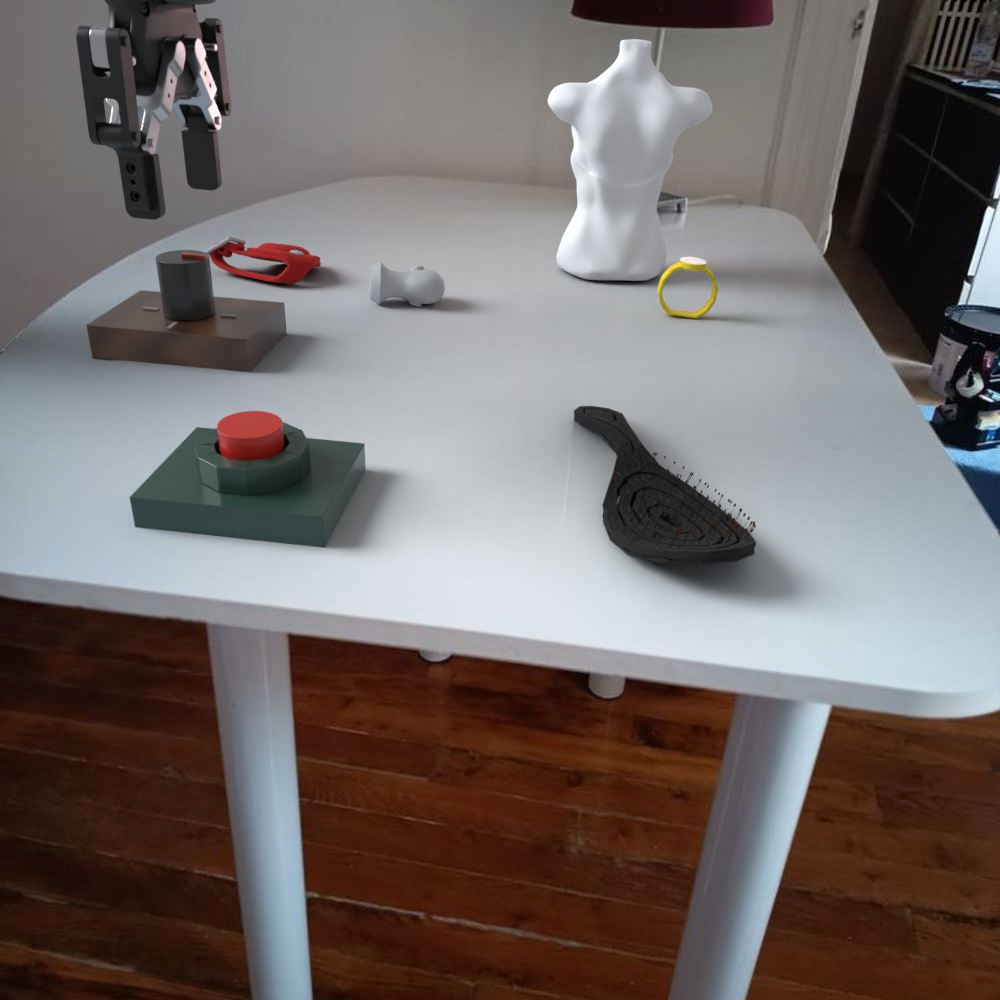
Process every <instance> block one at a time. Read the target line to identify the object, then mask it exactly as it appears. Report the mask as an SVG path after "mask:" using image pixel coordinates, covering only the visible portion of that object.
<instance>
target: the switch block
mask: <svg viewBox="0 0 1000 1000" xmlns="http://www.w3.org/2000/svg"><path fill="white" fill-rule="evenodd" d="M282 422H283V432H284V445H285V448H284V450H283V452H281V453H279V454H277V455H275V456H272V457H270V458H265V459H258V460H251V461H244V460H234V459H228V458H226V457H224V456H222V455H221V453H220V448H219V440H218V432H217V427H216V428H210V427H201V426H196V427H195V428H194V430H192V432H191V433H189V434H188V435H187V437H186V438H185V439H183V441H182V442H181V443H180V444H179V445H178V446H177V447H176V448H175V449H174V450H173V451H172V452H171V453H170V454H169V455H168V457H166V459H164V461H163V462H162V463H161V464H160V465H159V466H158V467H157V468H156V469H155V470H154V471H153V472H152V473H151V474H150V475H149V477H147V479H145V480H144V482H142V483H141V484H140V485H139V487H138V488H136V490H135V491H134V492H133V493H132V494H131V495H130V496H129V502H130V506H131V507H130V508H131V513H132V518H133V524H134V528H138V529H139V528H140V529H148V530H150V529H151V530H157V531H167V532H168V531H169V532H178V533H186V534H193V535H194V534H195V535H203V536H204V535H205V536H212V537H213V536H214V537H221V538H222V537H224V538H233V539H242V540H249V541H250V540H251V541H261V542H268V543H269V542H270V543H277V544H278V543H279V544H287V545H296V546H306V547H315V548H325V547H326V546H327V544H328V541H329V540H330V538H331V536H332V534H333V533H334V531H335V529H336V527H337V526H338V523H339V521H340V519H341V518H342V516H343V514H344V512H345V510H346V508H347V507H348V504H349V503H350V501H351V499H352V497H353V495H354V493H355V492H356V490H357V487H358V486H359V484H360V482H361V480H362V478H363V476H364V475H365V473H366V445H365V443H364V442H363V443H362V442H352V441H343V440H333V439H322V438H312V437H307V436H306V434H305V432H304V430H303V429H300V428H298V427H296V426H293V425H291V424H289V423H287V422H284V421H282Z"/></svg>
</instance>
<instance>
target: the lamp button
mask: <svg viewBox="0 0 1000 1000" xmlns="http://www.w3.org/2000/svg"><path fill="white" fill-rule="evenodd" d="M283 422H284V421H283V420H282V418H281V417H280V416H279V415H277V414H275V413H272V412H269V411H268V412H267V411H261V410H245V411H239V412H234V413H231V414H228V415H227V416H224V417H223V418H221V419H220V420H219V421H218V422H217V425H216V428H217V432H218V440H219V448H220V453H221V455H222V456H224V457H226V458H228V459H234V460H244V461H251V460H258V459H265V458H270V457H272V456H275V455H277V454H279V453H281V452H283V450H284V448H285V445H284V432H283Z"/></svg>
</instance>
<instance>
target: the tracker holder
mask: <svg viewBox="0 0 1000 1000" xmlns="http://www.w3.org/2000/svg"><path fill="white" fill-rule="evenodd" d="M246 244H247V243H246V240H243V239H240V238H238V237H237V238H236V237H233V236H227V237H225V238H223V239H222V240H220V241H217V242H216V243H214V244H213V245H212V246H210V247H208V248H207V249H205V250H204V251H203V252H204V253H207V254H208V255H209V258H210V259H211V260H210V261H211V262H212V263H213V265H215V266H216V267H217V268H219V269H221V270H224V271H225V272H228V273H230V274H233V275H237V276H241V277H246V278H249V279H254V280H255V279H256V280H259V281H264V282H270V283H277V284H278V283H279V284H284V285H293V284H297V283H300V282H301V281H302V280H303V279H304V278H305V277H306V276H307V274H308V273H309V272H310V270H311V269H313V268H314V267H320V266H321V265H322V262H321V257H320V256H319V255H315V254H314V255H313V254H311V252H310V251H308V249H306V248H305V247H302V246H299V245H296V244H292V243H288V242H287V243H286V242H278V241H277V242H264V243H261V244H259V245H258V246H257V247H247V248H246V246H245V245H246ZM245 248H246V249H245ZM233 254H235V255H238V256H243V257H248V258H251V259H254V260H262V261H268V262H274V263H280V264H281V263H282V264H285V265H287V266H286V267H285V269H284V270H283V271H282V272H280V273H279V274H278V275H276V276H274V275H269V274H264V273H259V272H254V271H249V270H245V269H242V268H241V269H240V268H237V267H235V266H233V265H231V264H229V263H228V262H227V261H225V258H226V259H227V258H228V259H229V258H231V257H232V256H233Z"/></svg>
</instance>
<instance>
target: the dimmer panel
mask: <svg viewBox="0 0 1000 1000" xmlns="http://www.w3.org/2000/svg"><path fill="white" fill-rule="evenodd" d="M214 303H215V313H214V314H213V315H212V316H210V317H207V318H204V319H199V320H191V321H181V320H173V319H170V318H167V317H166V316H165V315H164V313H163V306H162V299H161V292H160V291H156V290H155V291H153V290H140V289H139V290H138V291H137V292H135V293H134V294H132V295H131V296H129V297H128V298H125V300H123V301H121V302H119V303H118V304H117V305H115V306H114V307H112V308H110V309H108V310H107V311H105V313H103V314H101V315H99V316H98V317H97V318H95V319H94V320H92V321H90V322H89V323H87V324H86V332H87V337H88V342H89V347H90V353H91V358H92V359H99V360H100V359H101V360H108V361H109V360H110V361H123V362H124V361H126V362H136V363H144V364H145V363H146V364H156V365H157V364H158V365H166V366H176V367H178V366H179V367H188V368H189V367H190V368H201V369H210V370H219V371H220V370H221V371H234V372H244V373H250V372H251V371H252V370H253V369H254V368H255V367H256V366H257V365H258V364H259V363H260V361H261V360H263V358H265V356H266V355H267V354H268V353H269V352H271V350H272V349H273V348H274V347H275V346H276V345H277V344H278V343H279V342H280V341H281V340H282V339H283V337H284V336H285V335H287V321H286V306H285V302H282V301H270V300H259V299H246V298H236V297H223V296H214Z"/></svg>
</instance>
